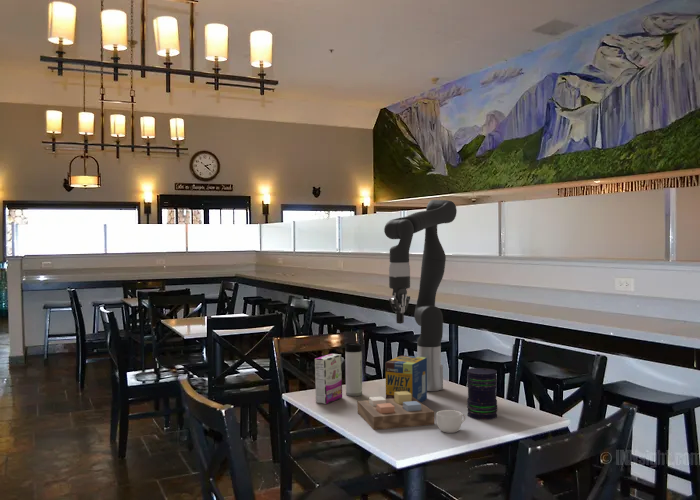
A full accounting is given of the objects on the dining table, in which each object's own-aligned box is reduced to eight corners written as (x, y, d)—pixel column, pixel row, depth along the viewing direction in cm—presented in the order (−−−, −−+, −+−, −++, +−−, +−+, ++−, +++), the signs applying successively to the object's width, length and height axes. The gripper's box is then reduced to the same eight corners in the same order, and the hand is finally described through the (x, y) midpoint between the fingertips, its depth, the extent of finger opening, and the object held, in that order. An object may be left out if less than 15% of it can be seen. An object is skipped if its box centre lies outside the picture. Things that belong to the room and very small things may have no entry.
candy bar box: (331, 396, 229) (331, 353, 229) (342, 398, 226) (342, 354, 226) (314, 403, 220) (314, 358, 219) (325, 404, 217) (325, 359, 217)
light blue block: (416, 413, 198) (416, 400, 198) (421, 416, 194) (421, 404, 194) (403, 414, 197) (402, 401, 197) (407, 418, 193) (407, 405, 193)
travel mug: (342, 393, 233) (341, 342, 233) (357, 391, 236) (357, 340, 236) (349, 397, 227) (348, 344, 227) (365, 395, 230) (364, 342, 230)
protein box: (385, 405, 215) (384, 362, 215) (401, 395, 229) (401, 354, 229) (412, 408, 210) (412, 364, 210) (427, 398, 224) (427, 356, 224)
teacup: (446, 436, 180) (446, 418, 180) (431, 429, 186) (431, 412, 186) (473, 431, 184) (472, 413, 184) (457, 424, 191) (457, 407, 191)
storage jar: (491, 421, 194) (490, 375, 194) (462, 417, 199) (462, 371, 199) (501, 414, 202) (501, 369, 202) (473, 410, 208) (473, 366, 208)
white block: (382, 408, 205) (381, 396, 205) (386, 411, 200) (386, 399, 200) (369, 409, 204) (368, 397, 204) (372, 412, 199) (372, 400, 199)
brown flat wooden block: (412, 408, 211) (412, 396, 211) (434, 424, 191) (434, 411, 191) (357, 412, 206) (357, 401, 206) (373, 429, 187) (373, 416, 186)
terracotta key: (390, 415, 196) (390, 402, 196) (394, 419, 192) (394, 406, 191) (376, 416, 195) (376, 404, 195) (380, 420, 190) (380, 407, 190)
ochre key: (407, 402, 207) (407, 391, 207) (411, 406, 202) (411, 394, 202) (394, 403, 206) (394, 391, 206) (398, 407, 201) (398, 395, 201)
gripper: (398, 274, 224) (398, 320, 225) (381, 275, 213) (382, 324, 213) (416, 274, 221) (417, 321, 221) (400, 276, 209) (401, 326, 209)
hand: (400, 323), depth 217 cm, fingers closed
